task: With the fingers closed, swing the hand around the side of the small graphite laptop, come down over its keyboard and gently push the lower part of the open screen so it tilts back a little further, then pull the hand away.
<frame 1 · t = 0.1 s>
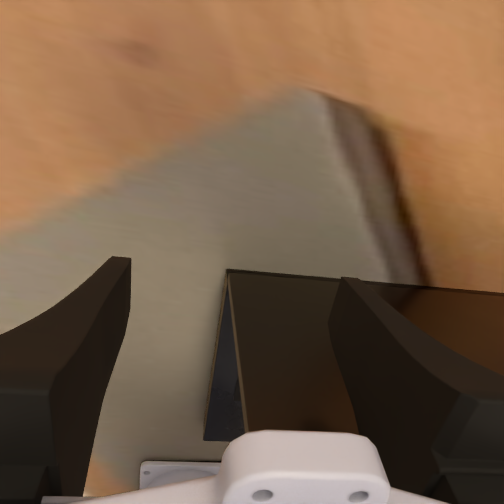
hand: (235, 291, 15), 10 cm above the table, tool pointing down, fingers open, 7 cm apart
laptop: (353, 362, 31), on the table
screen: (454, 360, 20), point 8 cm above the table, hinge at 99.3°
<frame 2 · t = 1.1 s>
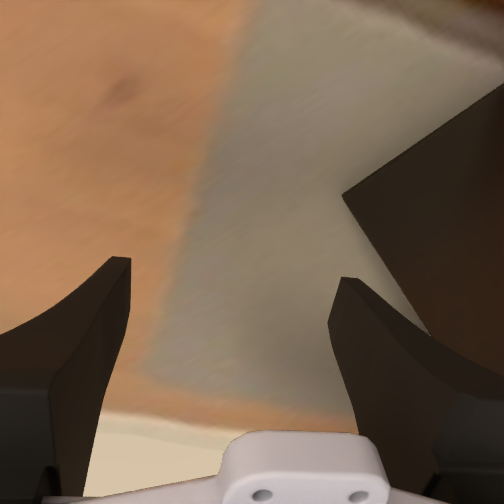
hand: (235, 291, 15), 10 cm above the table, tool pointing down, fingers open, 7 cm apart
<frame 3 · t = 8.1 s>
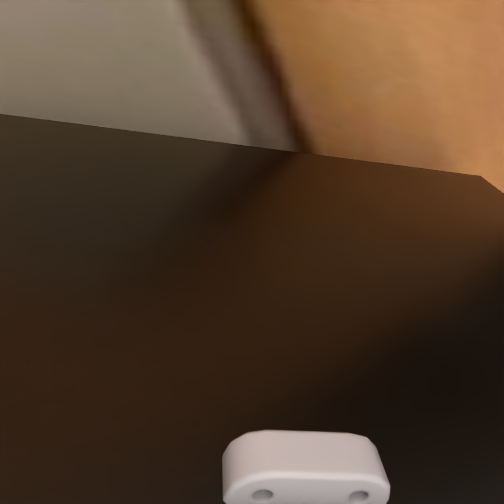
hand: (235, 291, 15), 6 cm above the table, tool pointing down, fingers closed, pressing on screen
screen: (257, 248, 11), point 9 cm above the table, hinge at 88.2°, touching gripper
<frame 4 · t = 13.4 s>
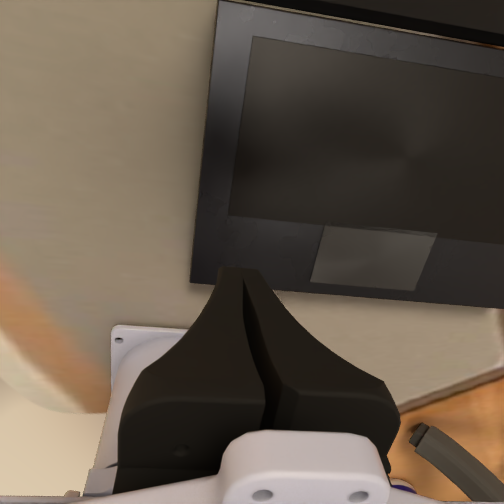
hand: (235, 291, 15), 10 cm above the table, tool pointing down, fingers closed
energy drink: (384, 492, 40), on the table
laptop: (384, 176, 24), on the table
hand grip strengthener: (473, 429, 36), on the table
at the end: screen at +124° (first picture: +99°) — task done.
